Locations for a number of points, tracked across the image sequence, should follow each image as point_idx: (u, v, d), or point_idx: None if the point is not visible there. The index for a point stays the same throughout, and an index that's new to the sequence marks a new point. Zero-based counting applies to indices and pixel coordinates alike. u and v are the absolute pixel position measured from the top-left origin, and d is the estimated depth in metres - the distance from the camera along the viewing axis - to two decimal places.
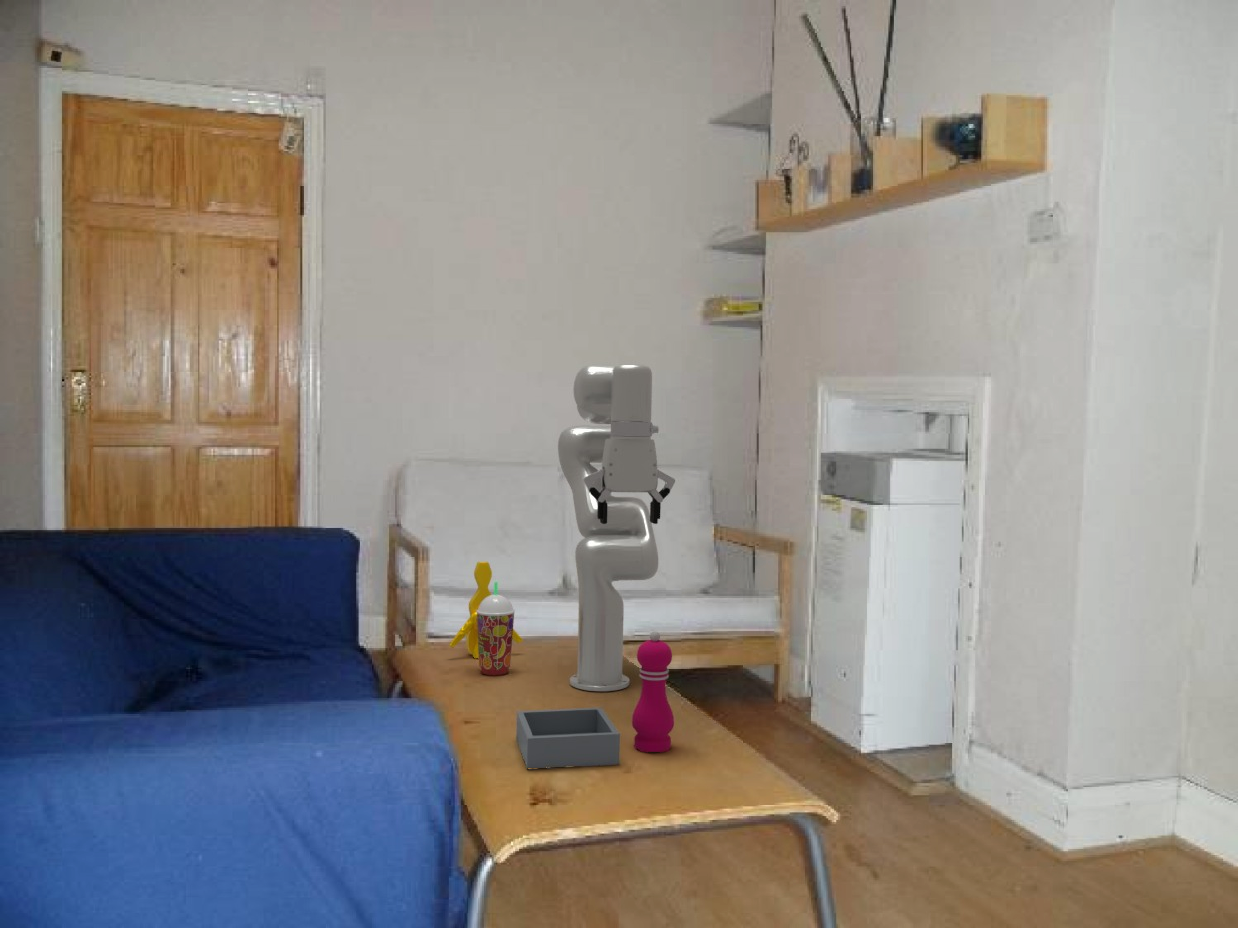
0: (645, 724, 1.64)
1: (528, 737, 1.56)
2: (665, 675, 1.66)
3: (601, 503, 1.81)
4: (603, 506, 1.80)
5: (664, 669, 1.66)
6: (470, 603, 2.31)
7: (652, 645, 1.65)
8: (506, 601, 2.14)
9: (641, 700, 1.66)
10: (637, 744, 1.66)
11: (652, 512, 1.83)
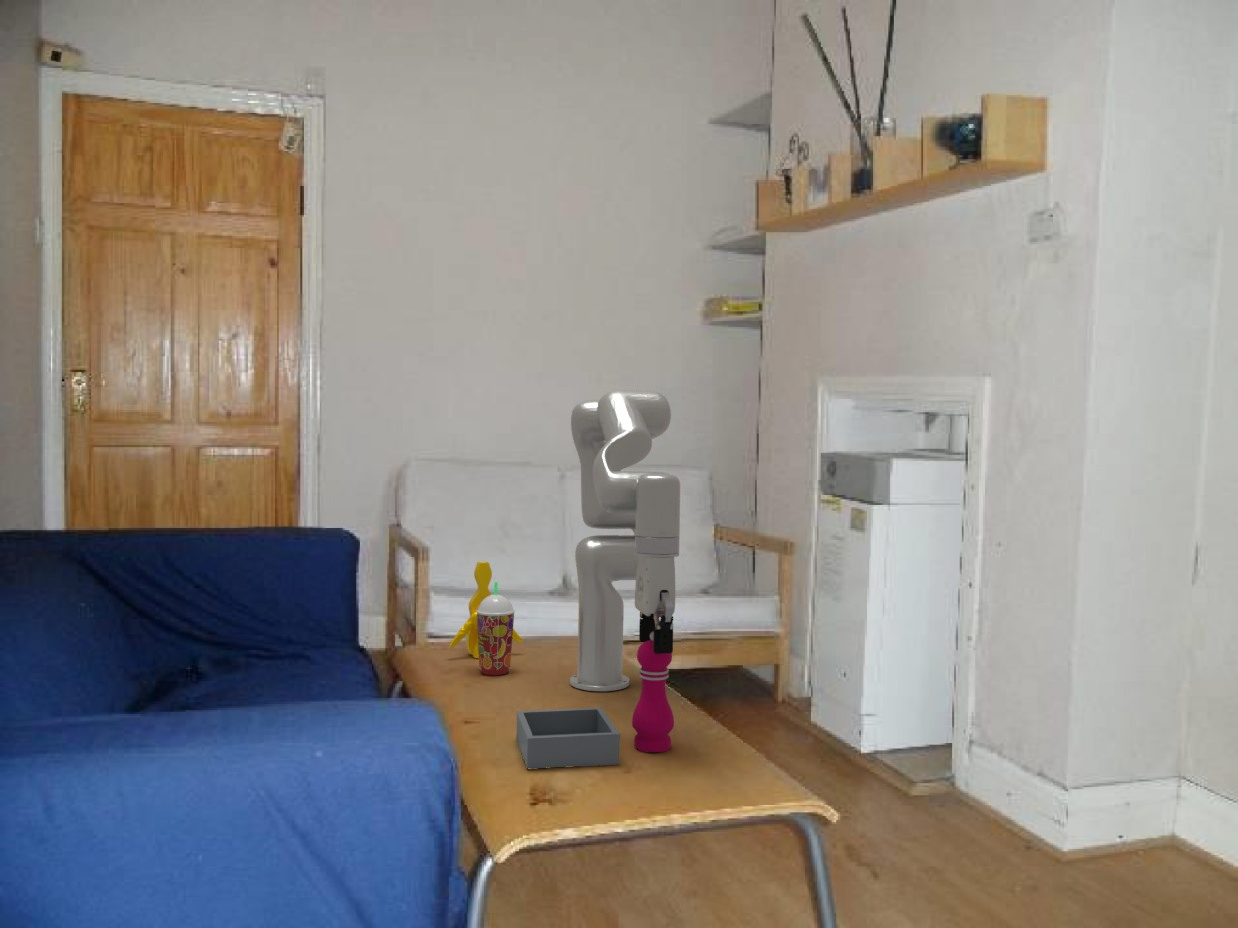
0: (645, 724, 1.64)
1: (528, 737, 1.56)
2: (665, 675, 1.66)
3: None
4: (670, 633, 1.62)
5: (664, 669, 1.66)
6: (470, 603, 2.31)
7: (652, 645, 1.65)
8: (506, 601, 2.14)
9: (641, 700, 1.66)
10: (637, 744, 1.66)
11: (650, 630, 1.71)
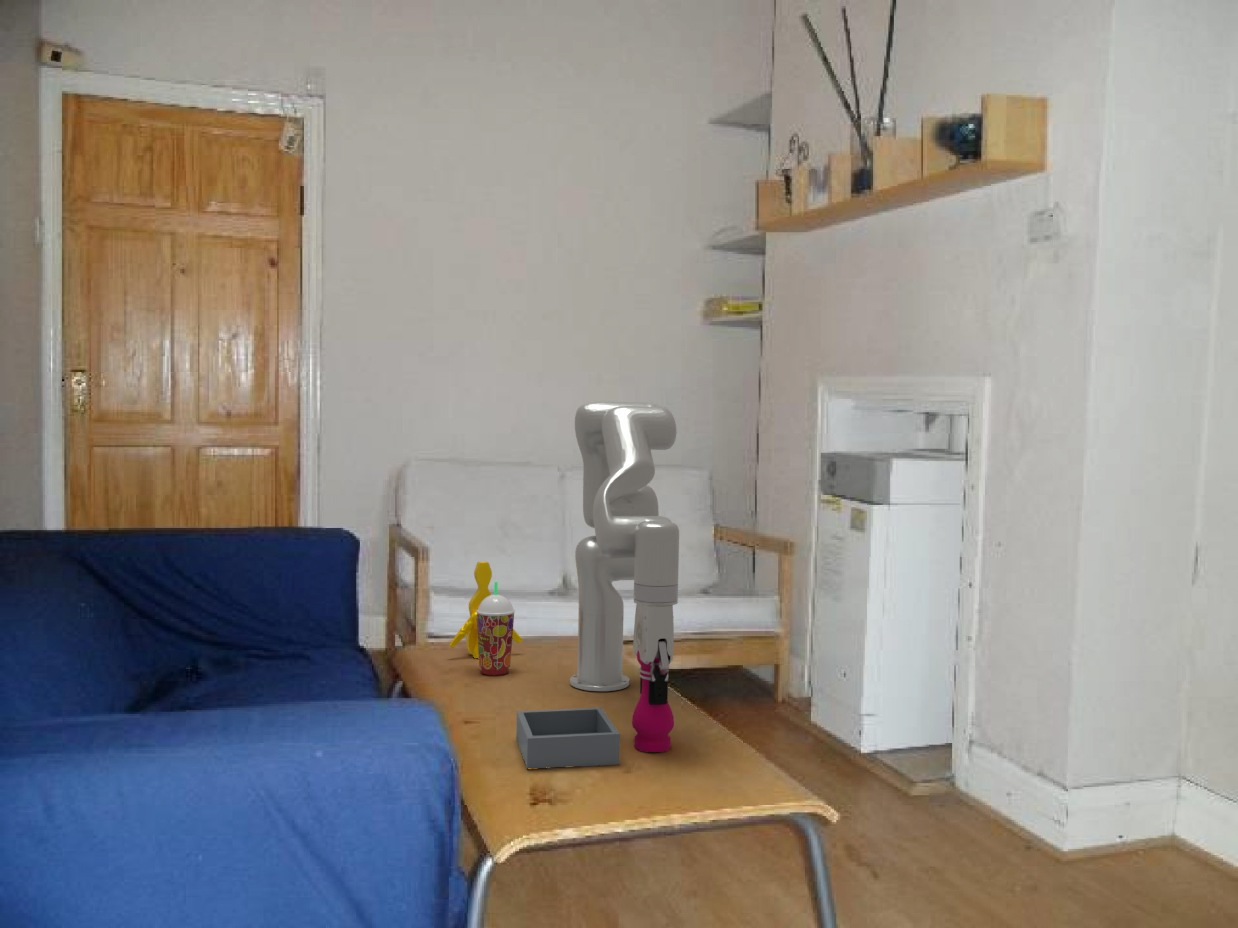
0: (645, 724, 1.64)
1: (528, 737, 1.56)
2: None
3: None
4: (665, 685, 1.65)
5: None
6: (470, 603, 2.31)
7: None
8: (506, 601, 2.14)
9: (641, 700, 1.66)
10: (637, 744, 1.66)
11: None
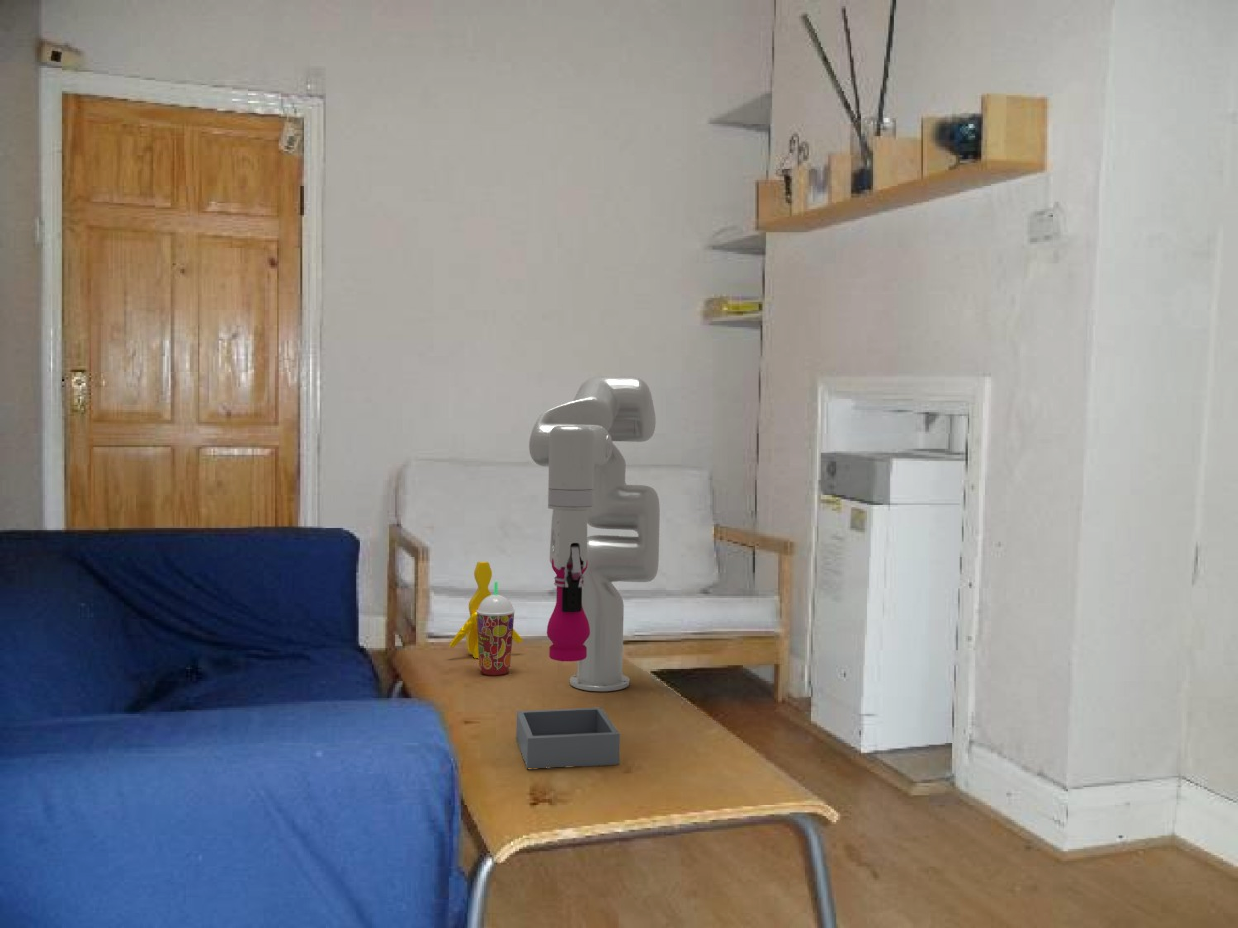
0: (559, 632, 1.60)
1: (528, 737, 1.56)
2: None
3: None
4: (579, 592, 1.61)
5: None
6: (470, 603, 2.31)
7: None
8: (506, 601, 2.14)
9: (555, 608, 1.63)
10: (551, 653, 1.62)
11: None
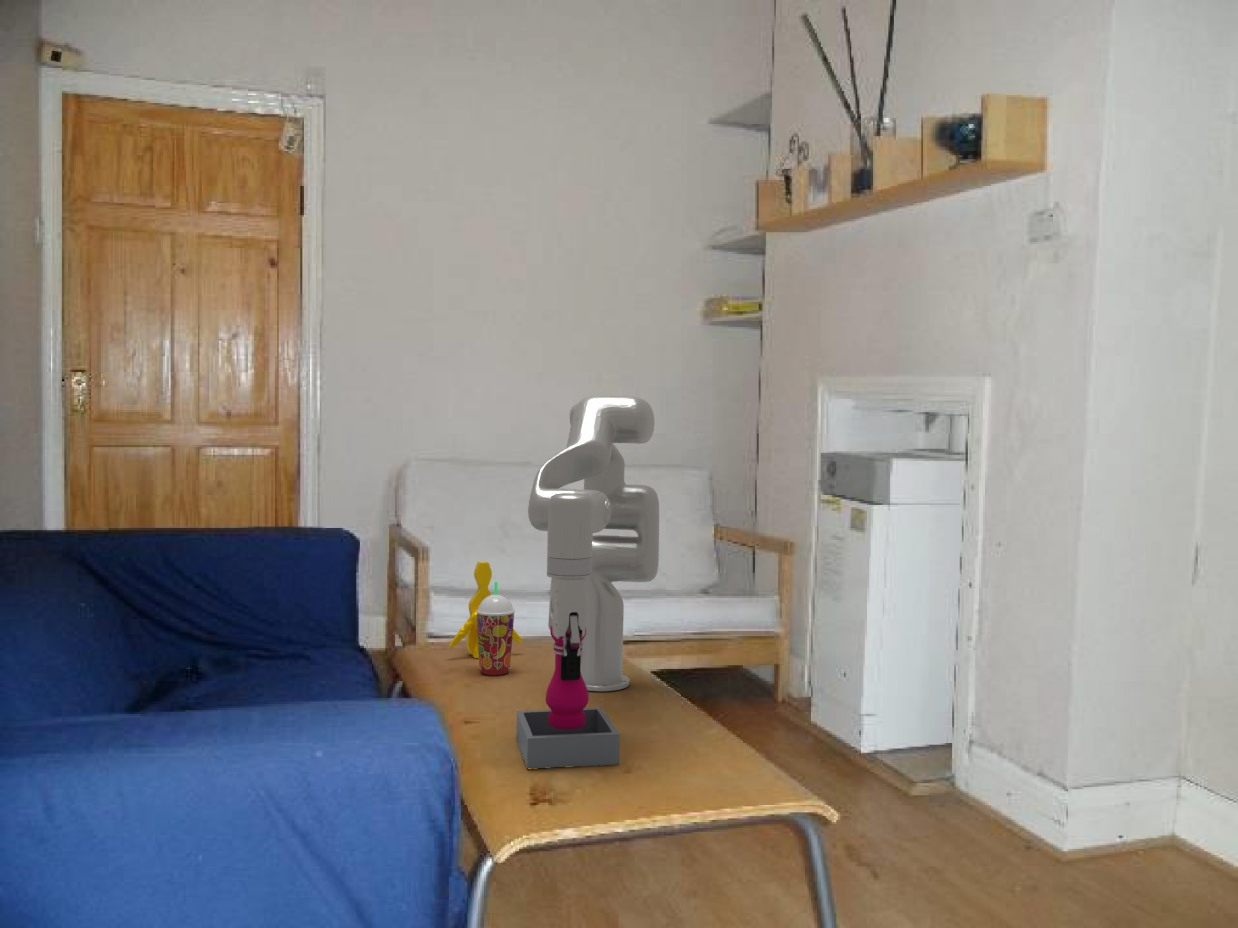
0: (558, 700, 1.61)
1: (528, 737, 1.56)
2: None
3: None
4: (578, 660, 1.61)
5: None
6: (470, 603, 2.31)
7: None
8: (506, 601, 2.14)
9: (554, 676, 1.63)
10: (550, 721, 1.63)
11: None
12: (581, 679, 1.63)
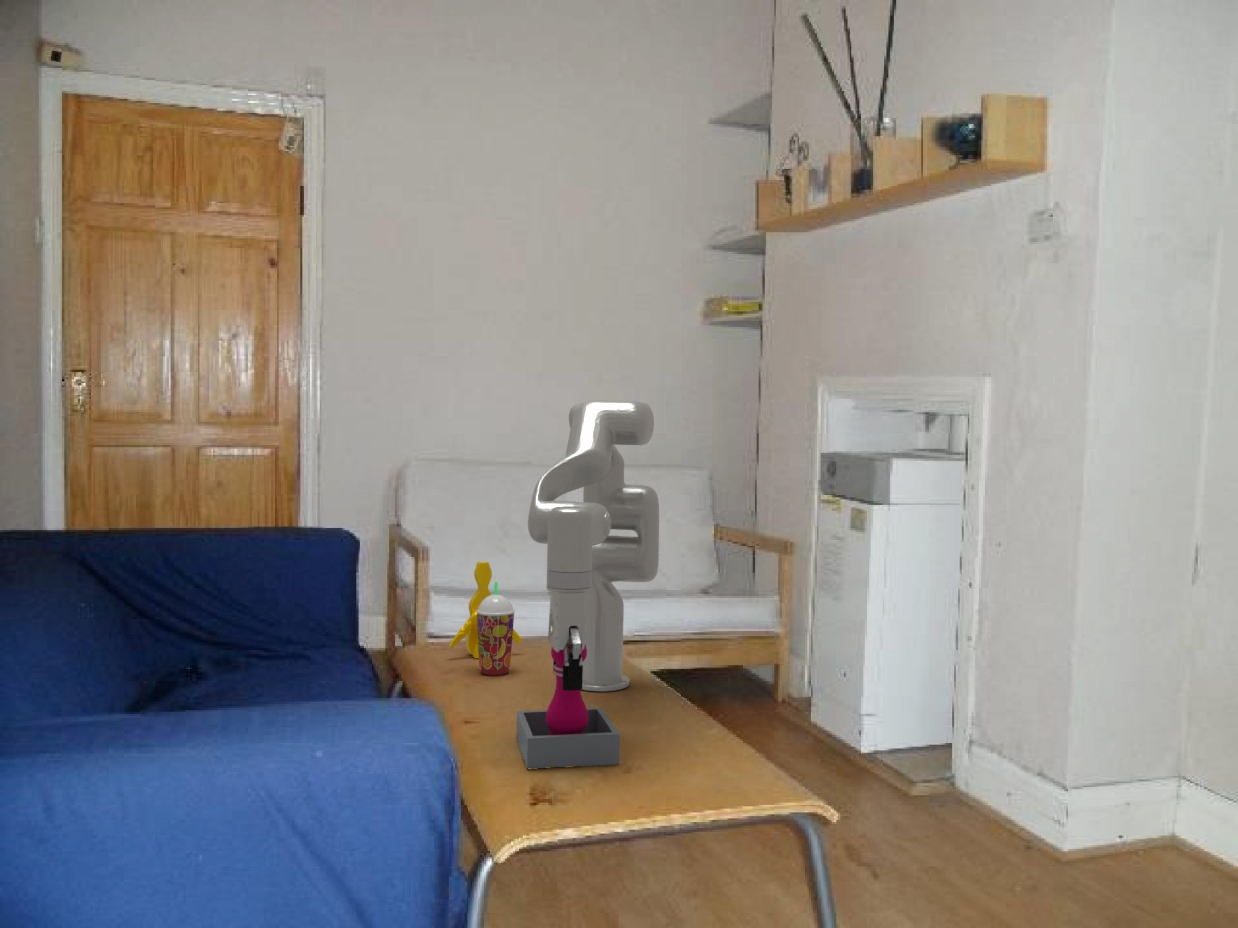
0: (558, 722, 1.61)
1: (528, 737, 1.56)
2: None
3: None
4: (580, 670, 1.59)
5: None
6: (470, 603, 2.31)
7: None
8: (506, 601, 2.14)
9: (554, 697, 1.63)
10: None
11: None
12: (581, 701, 1.63)
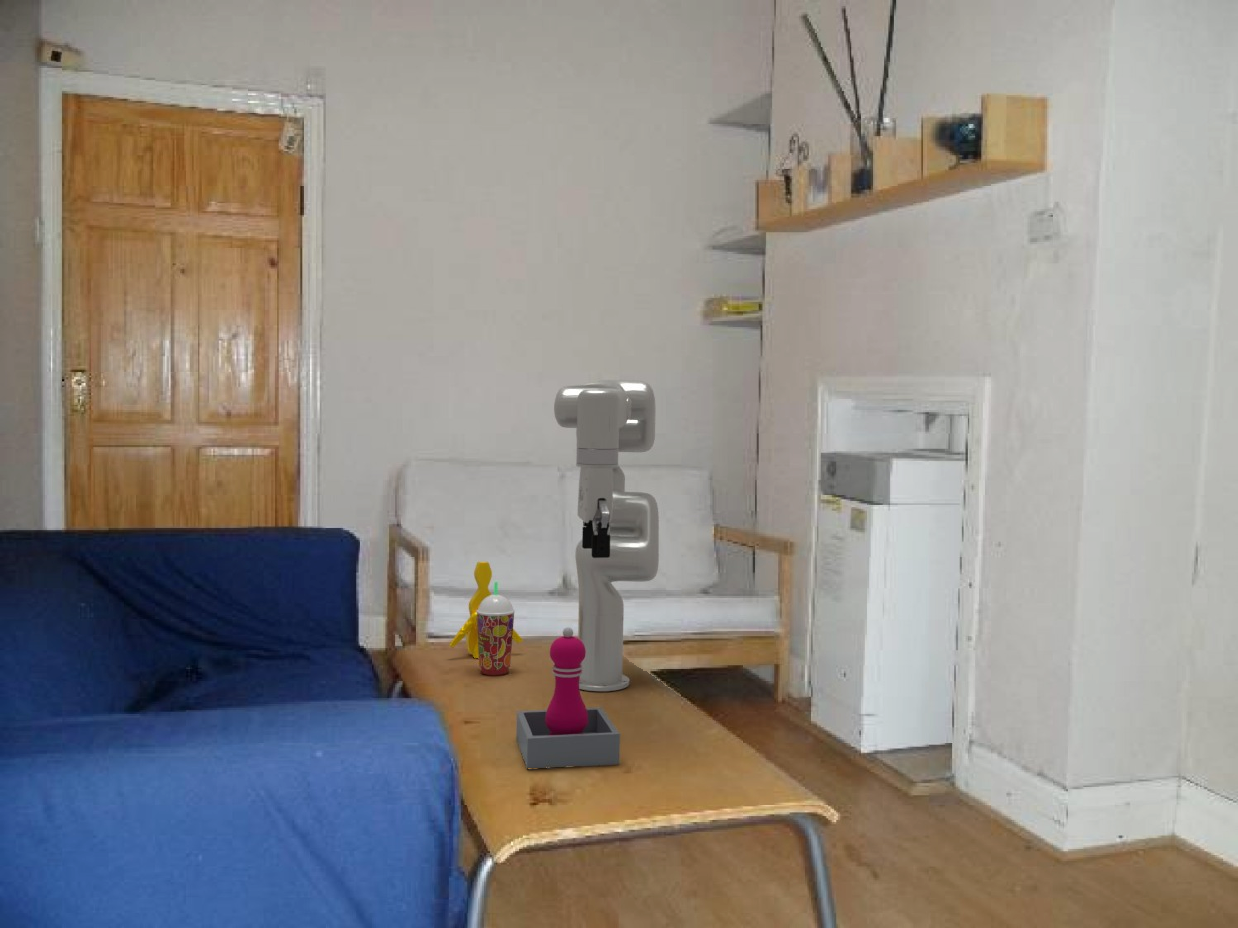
0: (557, 722, 1.61)
1: (528, 737, 1.56)
2: (578, 672, 1.63)
3: None
4: (608, 539, 1.72)
5: (577, 666, 1.63)
6: (470, 603, 2.31)
7: (565, 641, 1.62)
8: (506, 601, 2.14)
9: (554, 697, 1.63)
10: None
11: None
12: (581, 701, 1.63)
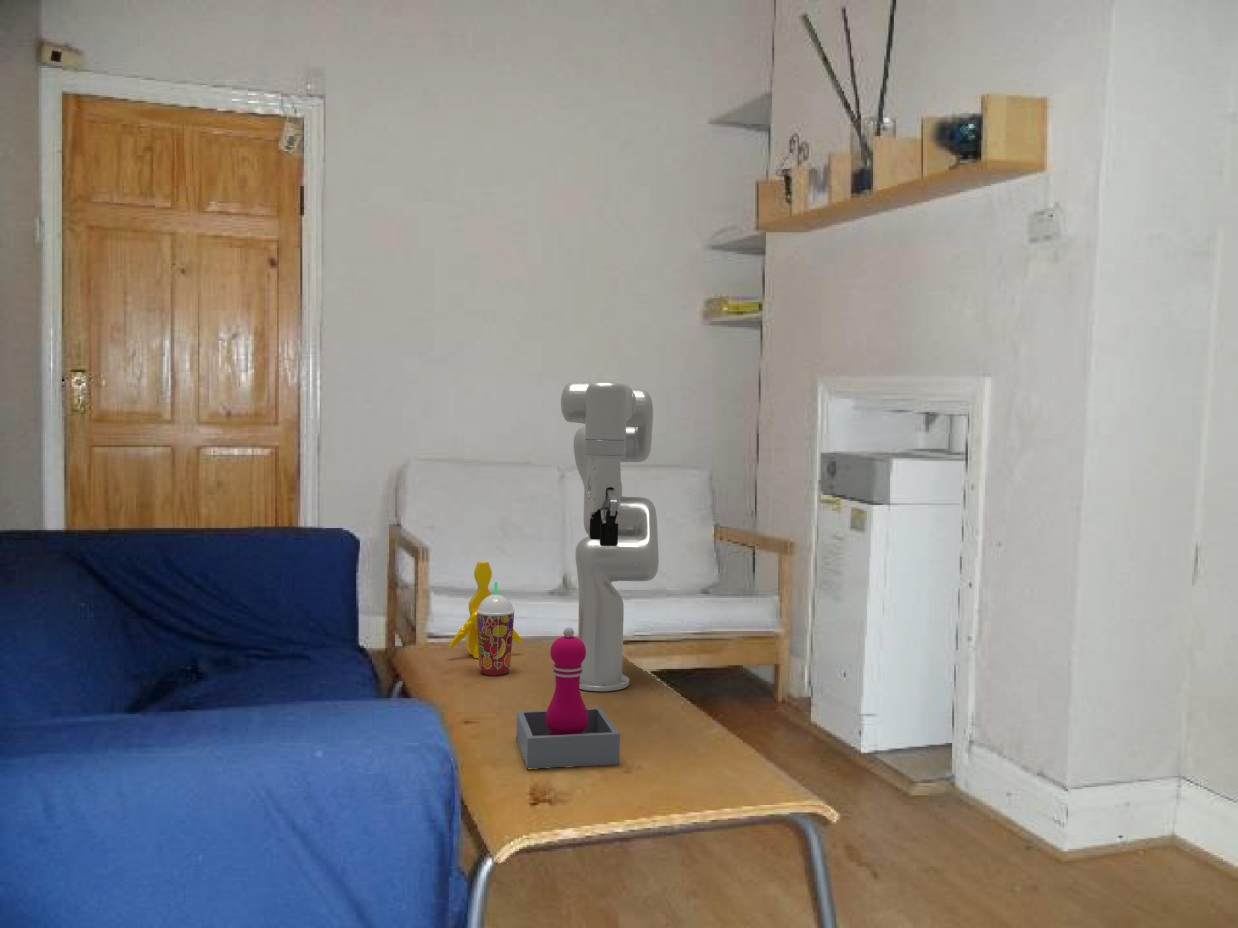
0: (557, 722, 1.61)
1: (528, 737, 1.56)
2: (578, 672, 1.63)
3: None
4: (616, 528, 1.76)
5: (577, 666, 1.63)
6: (470, 603, 2.31)
7: (565, 641, 1.62)
8: (506, 601, 2.14)
9: (554, 697, 1.63)
10: None
11: (600, 528, 1.85)
12: (581, 701, 1.63)
